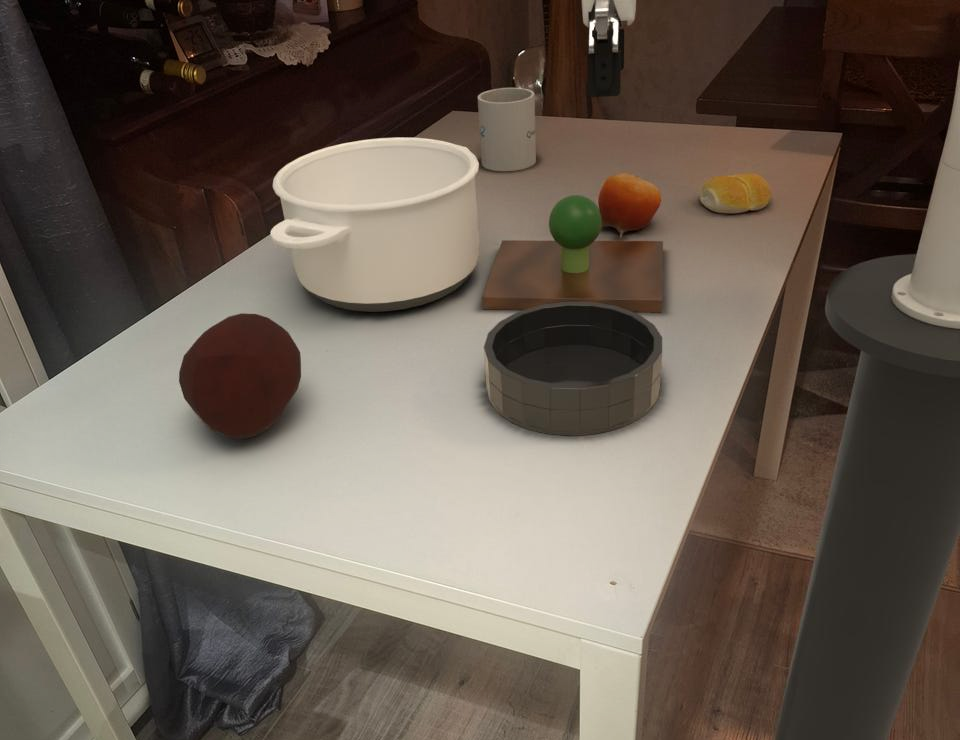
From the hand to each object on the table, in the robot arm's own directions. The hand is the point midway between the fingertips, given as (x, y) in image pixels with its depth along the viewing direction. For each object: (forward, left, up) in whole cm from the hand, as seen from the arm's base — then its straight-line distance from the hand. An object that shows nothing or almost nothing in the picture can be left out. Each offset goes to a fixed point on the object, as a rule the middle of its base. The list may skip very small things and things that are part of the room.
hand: (606, 82), depth 92 cm
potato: (+32, +32, -22) cm, 50 cm away
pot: (+26, +1, -22) cm, 34 cm away
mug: (+17, -44, -22) cm, 52 cm away
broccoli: (+3, 0, -20) cm, 21 cm away
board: (+3, 0, -22) cm, 22 cm away
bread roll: (-16, -24, -22) cm, 37 cm away
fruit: (-2, -16, -22) cm, 27 cm away
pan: (+2, +24, -22) cm, 33 cm away
